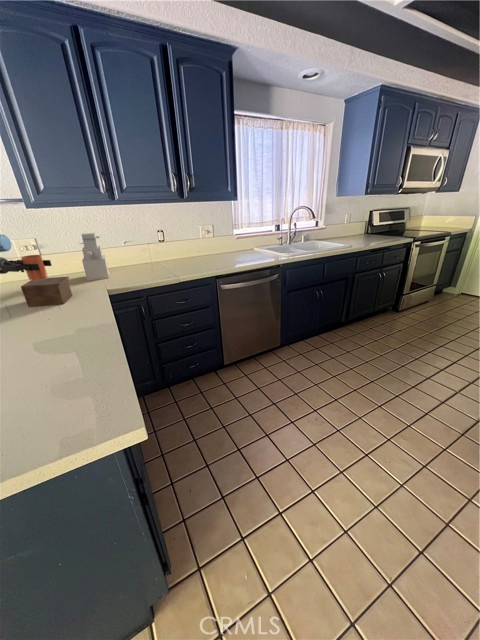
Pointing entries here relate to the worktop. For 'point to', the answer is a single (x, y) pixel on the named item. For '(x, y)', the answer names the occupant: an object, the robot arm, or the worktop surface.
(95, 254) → the blocky snowman figure
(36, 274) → the cup
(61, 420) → the worktop surface
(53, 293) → the box
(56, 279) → the box lid
